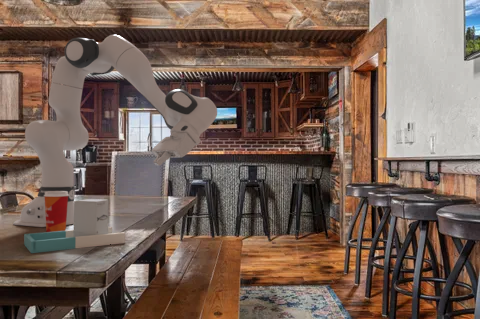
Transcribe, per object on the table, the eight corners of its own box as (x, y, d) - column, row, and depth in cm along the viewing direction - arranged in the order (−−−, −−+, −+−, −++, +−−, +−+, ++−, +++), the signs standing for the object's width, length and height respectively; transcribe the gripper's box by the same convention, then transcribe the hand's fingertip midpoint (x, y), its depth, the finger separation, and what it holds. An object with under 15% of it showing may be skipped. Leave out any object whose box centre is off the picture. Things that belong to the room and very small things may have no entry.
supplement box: (95, 245, 117) (96, 201, 117) (72, 244, 118) (73, 200, 118) (108, 240, 124) (109, 199, 124) (86, 239, 126) (87, 198, 126)
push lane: (31, 253, 106) (31, 241, 106) (24, 244, 117) (24, 234, 117) (125, 242, 120) (125, 232, 120) (111, 236, 131) (111, 226, 131)
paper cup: (43, 232, 135) (44, 190, 135) (68, 231, 138) (69, 190, 138) (42, 237, 128) (42, 192, 128) (68, 235, 131) (69, 192, 131)
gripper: (164, 130, 146) (138, 157, 140) (191, 126, 129) (162, 157, 124) (175, 143, 148) (150, 170, 143) (203, 141, 132) (176, 171, 126)
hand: (156, 164), depth 133 cm, fingers closed
